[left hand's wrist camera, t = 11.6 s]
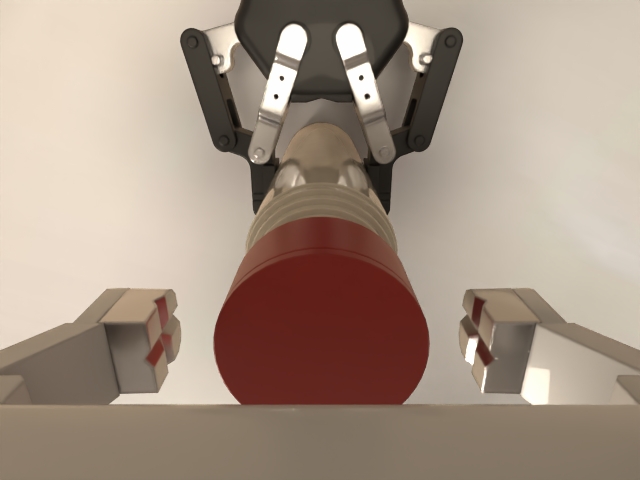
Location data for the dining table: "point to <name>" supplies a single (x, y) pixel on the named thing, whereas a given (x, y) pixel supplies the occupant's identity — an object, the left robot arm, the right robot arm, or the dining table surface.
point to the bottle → (321, 186)
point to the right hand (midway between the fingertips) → (322, 223)
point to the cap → (321, 320)
